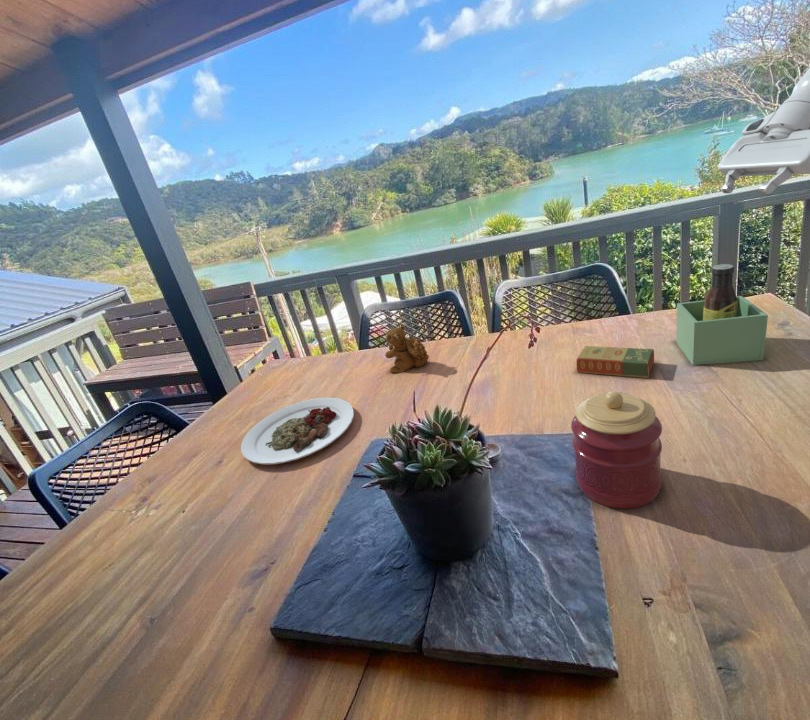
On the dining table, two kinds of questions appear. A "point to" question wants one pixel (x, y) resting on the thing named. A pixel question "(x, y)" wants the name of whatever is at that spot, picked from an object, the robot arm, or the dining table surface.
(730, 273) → the sauce bottle
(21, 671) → the dining table surface
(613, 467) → the kitchen canister
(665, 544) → the dining table surface
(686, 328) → the bin
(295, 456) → the plated food
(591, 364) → the carton
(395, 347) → the stuffed squirrel
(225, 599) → the dining table surface
